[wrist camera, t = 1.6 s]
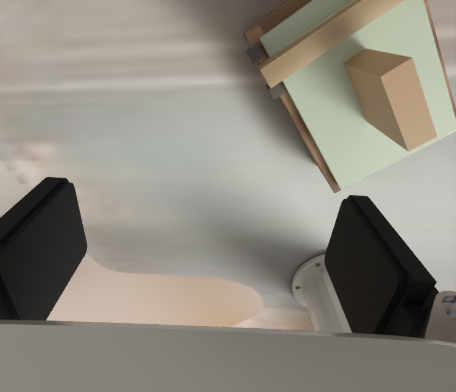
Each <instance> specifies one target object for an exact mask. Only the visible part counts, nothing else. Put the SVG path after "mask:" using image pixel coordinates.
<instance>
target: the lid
mask: <svg viewBox="0 0 456 392" xmlns="http://www.w3.org/2000/svg"><path fill="white" fill-rule="evenodd" d="M350 1H351V0H312V1H310V2H309V3H308V4H306V5H305V6H303V7H302V8H301V9H299V10H298V11H297V12H295V13H294V14H292V15H291V16H290V17H288V18H287V19H285V20H284V21H283V22H281V23H280V24H279V25H277V26H276V27H274V28H273V29H272V30H270V31H269V32H268V33H266V34H265V35H263V36H262V37H261V38H259V39H260V41H261V43H262V45H263V47H264V48H265V50H266V52H267V54H268V56H269V57H271V56H272V55H274V54H275V53H277V52H278V51H279V50H281V49H282V48H284V47H285V46H287V45H288V44H289V43H291V42H292V41H294V40H295V39H297V38H298V37H300V36H301V35H302V34H304V33H305V32H307V31H308V30H310V29H311V28H313V27H314V26H315V25H317V24H318V23H320V22H321V21H323V20H324V19H325V18H327V17H328V16H330V15H331V14H333V13H334V12H336V11H337V10H338V9H340V8H341V7H343V6H344V5H346V4H347V3H348V2H350ZM282 82H283V84H284V86H285V87H286V89H287V91H288V93H289V95H290V97H291V99H292V100H293V102H294V104H295V106H296V108H297V110H298V112H299V114H300V115H301V117H302V119H303V121H304V123H305V125H306V127H307V128H308V130H309V132H310V134H311V136H312V138H313V140H314V141H315V143H316V145H317V147H318V149H319V151H320V153H321V154H322V156H323V158H324V160H325V162H326V164H327V166H328V167H329V169H330V171H331V173H332V175H333V177H334V179H335V180H336V182H337V184H338V186H339V187H340V189H341V190H342V189H344V188H346V187H348V186H350V185H352V184H354V183H356V182H358V181H360V180H362V179H364V178H366V177H368V176H370V175H371V174H373V173H375V172H377V171H379V170H381V169H383V168H385V167H387V166H389V165H391V164H393V163H395V162H397V161H399V160H401V159H403V158H405V157H407V156H408V155H410V154H412V153H414V152H416V151H418V150H420V149H422V148H424V147H426V146H428V145H430V144H432V143H434V142H436V141H438V140H440V139H442V138H444V137H445V136H447V135H449V134H451V133H453V132H455V131H456V118H455V114H454V111H453V107H452V103H451V100H450V96H449V92H448V88H447V85H446V81H445V77H444V74H443V70H442V66H441V63H440V59H439V55H438V52H437V48H436V44H435V41H434V37H433V33H432V29H431V26H430V22H429V18H428V15H427V11H426V7H425V4H424V0H404V1H402V2H401V3H399V4H398V5H396V6H395V7H393V8H392V9H390V10H389V11H387V12H386V13H384V14H383V15H381V16H380V17H378V18H377V19H375V20H374V21H372V22H371V23H369V24H368V25H366V26H365V27H363V28H362V29H360V30H359V31H357V32H356V33H354V34H353V35H351V36H349V37H348V38H346V39H345V40H343V41H342V42H340V43H339V44H337V45H336V46H334V47H333V48H331V49H330V50H328V51H327V52H325V53H324V54H322V55H321V56H319V57H318V58H316V59H315V60H313V61H312V62H310V63H309V64H307V65H306V66H304V67H303V68H301V69H300V70H298V71H297V72H295V73H293V74H292V75H290V76H289V77H287V78H286V79H284V80H283V81H282Z"/></svg>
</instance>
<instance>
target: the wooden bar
mask: <svg viewBox="0 0 456 392" xmlns="http://www.w3.org/2000/svg"><path fill="white" fill-rule="evenodd" d="M402 1H404V0H351V1H350V2H348V3H347V4H346V5H344V6H343V7H341V8H340V9H338V10H337V11H336V12H334V13H333V14H331V15H330V16H328V17H327V18H325V19H324V20H323V21H321V22H320V23H318V24H317V25H315V26H314V27H313V28H311V29H310V30H308V31H307V32H305V33H304V34H302V35H301V36H300V37H298V38H297V39H295V40H294V41H292V42H291V43H289V44H288V45H287V46H285V47H284V48H282V49H281V50H279V51H278V52H277V53H275V54H274V55H272V56H271V57H269V58H268V59H266V60H265V61H264V62H262V63H261V64H259V65H258V68H259V69H260V71H261V73H262V75H263V76H264V78H265V80H266V82H267V83H268V85H269V87H270V88H272V87H274V86H275V85H277V84H278V83H280V82H281V81H283V80H284V79H286V78H287V77H289V76H290V75H292V74H293V73H295V72H297V71H298V70H300V69H301V68H303V67H304V66H306V65H307V64H309V63H310V62H312V61H313V60H315V59H316V58H318V57H319V56H321V55H322V54H324V53H325V52H327V51H328V50H330V49H331V48H333V47H334V46H336V45H337V44H339V43H340V42H342V41H343V40H345V39H346V38H348V37H349V36H351V35H353V34H354V33H356V32H357V31H359V30H360V29H362V28H363V27H365V26H366V25H368V24H369V23H371V22H372V21H374V20H375V19H377V18H378V17H380V16H381V15H383V14H384V13H386V12H387V11H389V10H390V9H392V8H393V7H395V6H396V5H398V4H399V3H401V2H402Z"/></svg>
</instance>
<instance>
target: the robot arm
mask: <svg viewBox="0 0 456 392" xmlns="http://www.w3.org/2000/svg"><path fill="white" fill-rule="evenodd" d="M86 251H87V242H86V237H85V233H84V228H83V224H82V219H81V215H80V210H79V206H78V201H77V197H76V192H75V187H74V185H73V183H69V181H68V180H67V179H66V178H55V177H47V178H45V179H44V180H43V181H41V182H40V183H39V184H38V185H37V186H36V187H35V188H34V189H32V190H31V191H30V192H29V193H28V194H27V195H26V196H24V197H23V198H22V199H21V200H20V201H19V202H18V203H17V204H15V205H14V206H13V207H12V208H11V209H10V210H9V211H7V212H6V213H5V214H4V215H3V216H2V217H1V218H0V392H456V292H454V291H442V292H440V293H439V292H438V290H437V289H436V288H435V287H434V286H435V284H436V283H437V282H436V281H435V279H434V278H433V277H432V276H431V274H430V273H429V272H428V271H427V269H426V268H425V267H424V266H423V264H422V263H421V262H420V261H419V259H418V258H417V257H416V256H415V254H414V253H413V252H412V251H411V249H410V248H409V247H408V246H407V244H406V243H405V242H404V241H403V239H402V238H401V237H400V236H399V234H398V233H397V232H396V231H395V230H394V228H393V227H392V226H391V225H390V223H389V222H388V221H387V220H386V218H385V217H384V216H383V215H382V213H381V212H380V211H379V210H378V208H377V207H376V206H375V205H374V203H373V202H372V201H371V200H370V198H369V197H367V196H356V195H350V196H349V197H348V198H347V199H344V200H343V201H342V203H341V206H340V210H339V213H338V216H337V219H336V222H335V225H334V228H333V232H332V235H331V238H330V241H329V244H328V247H327V250H326V254H323V255H319V256H317V257H314V258H312V259H310V260H309V261H307V262H305V263H304V264H303V265H302V266H301V267H300V268H299V269H298V270H297V271H296V273H295V275H294V277H293V280H292V290H293V294H294V296H295V299H296V300H297V301H298V302H299V303H300V304H301V305H303V306H304V307H306V308H307V309H308V312H309V316H310V319H311V323H312V326H313V330H314V331H304V330H282V329H260V328H236V327H211V326H185V325H159V324H133V323H102V322H73V321H46V319H47V318H48V316H49V314H50V312H51V311H52V309H53V308H54V306H55V304H56V303H57V301H58V299H59V297H60V296H61V294H62V292H63V291H64V289H65V287H66V286H67V284H68V282H69V281H70V279H71V277H72V276H73V274H74V272H75V270H76V269H77V267H78V265H79V264H80V262H81V260H82V259H83V257H84V256H85V254H86Z"/></svg>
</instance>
